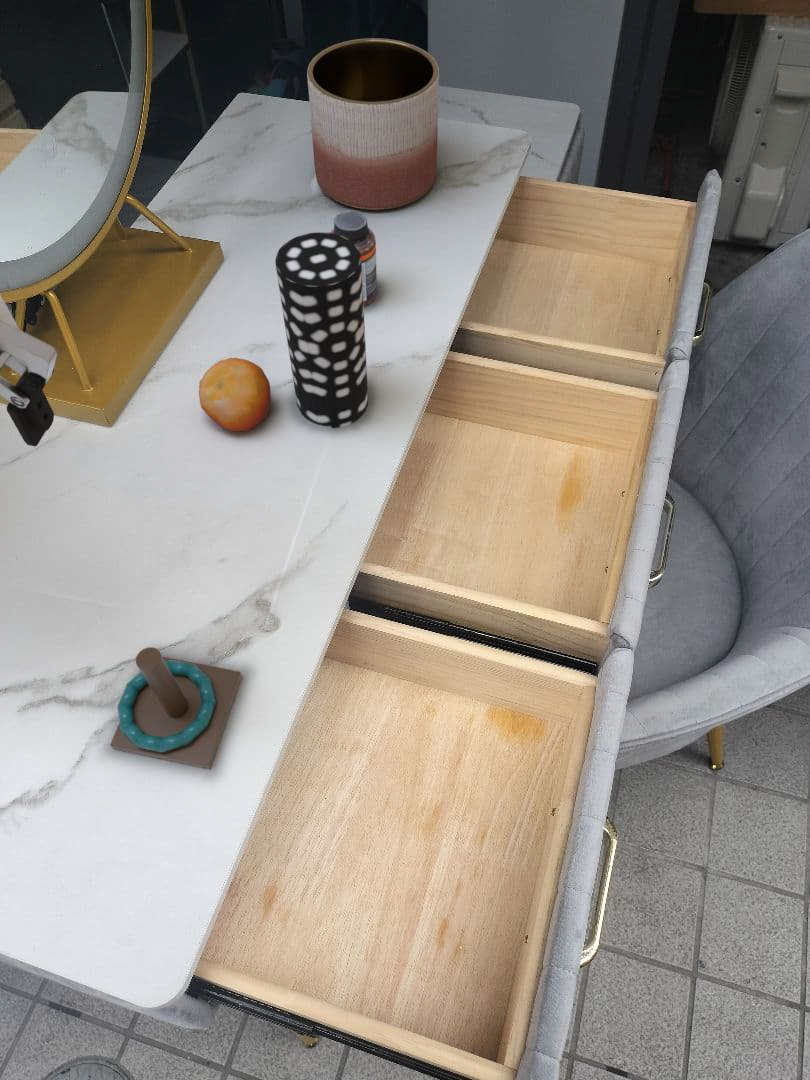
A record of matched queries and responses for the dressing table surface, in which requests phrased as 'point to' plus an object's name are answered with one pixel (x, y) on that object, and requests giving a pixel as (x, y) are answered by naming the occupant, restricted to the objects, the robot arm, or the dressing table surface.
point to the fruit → (235, 394)
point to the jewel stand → (178, 709)
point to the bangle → (177, 739)
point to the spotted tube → (325, 326)
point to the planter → (374, 122)
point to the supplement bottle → (360, 248)
